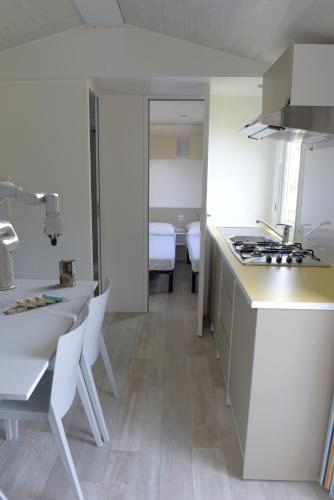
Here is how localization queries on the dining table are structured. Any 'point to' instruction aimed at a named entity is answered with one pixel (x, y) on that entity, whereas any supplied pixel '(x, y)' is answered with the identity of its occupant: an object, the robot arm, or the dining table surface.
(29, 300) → the domino
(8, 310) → the domino
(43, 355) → the dining table surface
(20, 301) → the domino
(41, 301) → the domino
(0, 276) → the robot arm
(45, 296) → the teal domino
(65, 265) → the coffee box
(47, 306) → the slate mat
